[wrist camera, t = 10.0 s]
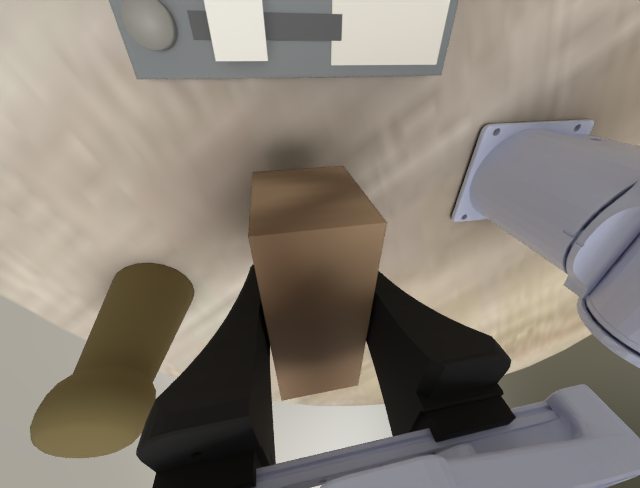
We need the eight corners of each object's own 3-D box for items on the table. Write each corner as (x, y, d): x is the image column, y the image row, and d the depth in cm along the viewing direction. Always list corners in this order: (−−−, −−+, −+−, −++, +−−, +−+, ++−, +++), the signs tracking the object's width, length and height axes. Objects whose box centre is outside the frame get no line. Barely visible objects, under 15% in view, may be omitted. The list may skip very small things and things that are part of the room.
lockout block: (343, 166, 11) (386, 222, 8) (335, 310, 17) (357, 385, 13) (252, 171, 11) (248, 237, 7) (276, 319, 17) (281, 400, 13)
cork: (92, 283, 20) (-40, 458, 11) (158, 251, 19) (74, 409, 11) (152, 323, 24) (88, 479, 15) (209, 297, 23) (177, 443, 14)
